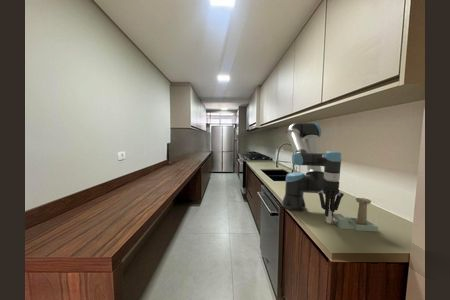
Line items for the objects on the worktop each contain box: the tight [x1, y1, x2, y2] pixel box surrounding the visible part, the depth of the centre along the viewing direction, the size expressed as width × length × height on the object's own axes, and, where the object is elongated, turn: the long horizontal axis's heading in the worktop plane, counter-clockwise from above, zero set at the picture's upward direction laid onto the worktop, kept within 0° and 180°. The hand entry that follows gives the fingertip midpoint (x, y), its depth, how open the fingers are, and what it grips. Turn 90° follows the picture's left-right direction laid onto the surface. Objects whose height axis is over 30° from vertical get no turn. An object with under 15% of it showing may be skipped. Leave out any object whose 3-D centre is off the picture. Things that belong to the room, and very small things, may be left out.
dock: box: [332, 213, 379, 232], centre depth 100 cm, size 10×18×5 cm, turn 86°
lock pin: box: [330, 217, 338, 224], centre depth 100 cm, size 3×7×3 cm, turn 86°
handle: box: [355, 197, 372, 225], centre depth 99 cm, size 5×6×15 cm
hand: (328, 221), depth 101 cm, fingers closed
